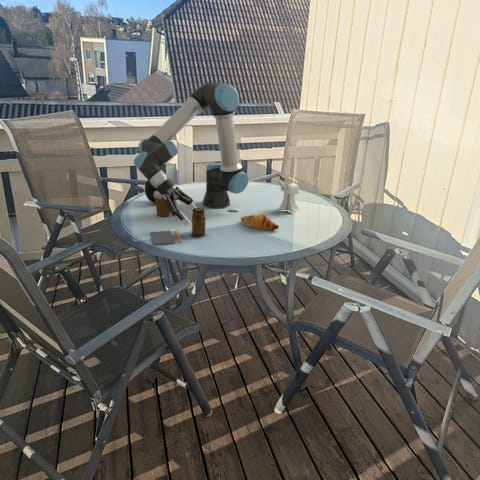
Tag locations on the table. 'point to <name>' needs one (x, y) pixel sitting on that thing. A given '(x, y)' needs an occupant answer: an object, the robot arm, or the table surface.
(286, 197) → the white mech figurine
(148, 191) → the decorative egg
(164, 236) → the mat
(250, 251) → the table surface
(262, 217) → the croissant
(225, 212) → the table surface
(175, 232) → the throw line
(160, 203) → the disposable coffee cup
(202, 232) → the condiment
